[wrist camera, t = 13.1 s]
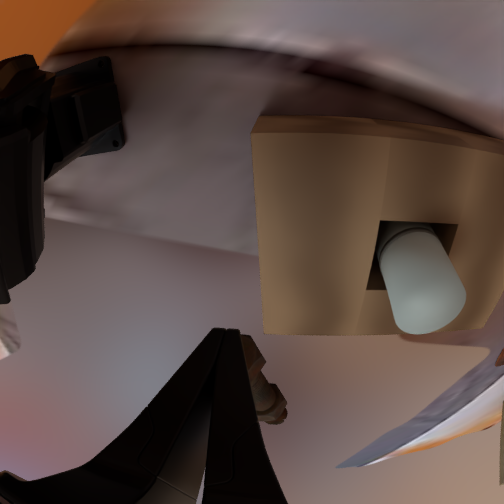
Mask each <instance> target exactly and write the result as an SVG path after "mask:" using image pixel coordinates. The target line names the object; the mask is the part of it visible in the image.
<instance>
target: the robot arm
mask: <svg viewBox="0 0 504 504" xmlns="http://www.w3.org/2000/svg"><path fill="white" fill-rule="evenodd" d="M102 61H104V66H103V67H102V65H101V62H102ZM121 120H122V116H121V111H120V105H119V100H118V94H117V88H116V84H115V83H114V79H113V72H112V65H111V60H110V58H109V57H107V56H102V57H98V58H95V59H92V60H89V61H86V62H83V63H81V64H78V65H75V66H72V67H70V68H67V69H65V70H62V71H59V72H57V73H51V72H46V71H42V70H39V66H37V64H36V61H35V59H34V57H33V55H29V54H23V55H19V56H15V57H11V58H7V59H4V60H2V61H0V304H8V303H9V302H10V301H11V299H10V295H9V292H8V289H11V288H13V287H14V286H16V285H17V284H19V283H21V282H22V281H24V280H26V279H27V278H28V277H29V276H30V275H31V274H32V273H33V272H34V271H35V269H36V268H35V267H36V266H35V264H36V263H37V261H38V259H39V257H40V255H41V253H42V251H43V248H44V238H45V231H44V218H45V209H44V182H45V181H46V180H47V179H49V178H50V177H51V176H53V175H54V174H55V173H57V172H58V171H59V170H61V169H62V168H63V167H65V166H66V165H68V164H69V163H70V162H72V161H73V160H75V159H76V158H77V157H81V156H87V155H93V154H99V153H105V152H111V151H117V150H120V149H121V148H122V147H123V146H124V145H125V139H124V134H123V129H122V124H121ZM115 140H117V141H118V142H119V145H117V144H116V142H115ZM205 467H206V468H205ZM204 470H205V479H204V491H203V498H202V504H288V503H287V501H286V498H285V496H284V494H283V491H282V489H281V487H280V484H279V482H278V480H277V477H276V475H275V472H274V470H273V468H272V465H271V463H270V460H269V457H268V454H267V451H266V449H265V445H264V441H263V438H262V434H261V429H260V425H259V421H258V416H257V412H256V407H255V402H254V397H253V393H252V388H251V383H250V378H249V374H248V369H247V364H246V359H245V354H244V349H243V344H242V339H241V334H240V330H238V329H227V330H226V329H225V328H213V329H212V330H211V331H210V332H209V333H208V334H207V336H206V337H205V338H204V339H203V340H202V342H201V343H200V344H199V345H198V346H197V348H196V349H195V350H194V351H193V352H192V354H191V355H190V356H189V357H188V358H187V360H186V361H185V362H184V363H183V364H182V366H181V367H180V368H179V369H178V370H177V371H176V372H175V374H174V375H173V376H172V377H171V378H170V380H169V381H168V382H167V383H166V384H165V385H164V387H163V388H162V389H161V390H160V391H159V393H158V394H157V395H156V396H155V397H154V398H153V400H152V401H151V402H150V403H149V404H148V407H145V409H144V410H143V411H142V412H141V414H139V416H138V417H137V418H136V419H135V420H134V421H133V422H132V423H131V424H130V425H129V426H128V427H127V428H126V429H125V430H124V431H123V432H122V433H121V434H120V435H119V436H118V437H117V438H116V439H114V440H113V441H112V442H111V443H110V444H109V445H108V446H106V447H105V448H104V449H103V450H102V451H101V452H100V453H99V454H97V455H96V456H95V457H94V458H93V459H91V460H90V461H89V462H87V463H85V464H84V465H82V466H79V467H77V468H74V469H71V470H68V471H65V472H61V473H58V474H55V475H51V476H48V477H45V478H41V479H38V480H32V481H27V480H25V479H23V478H21V477H19V476H17V475H15V474H13V473H11V472H9V471H6V470H4V471H2V472H0V504H196V501H197V500H196V499H197V497H198V493H199V489H200V486H201V482H202V478H203V474H204Z"/></svg>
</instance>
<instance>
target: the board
mask: <svg viewBox="0 0 504 504" xmlns="http://www.w3.org/2000/svg"><path fill="white" fill-rule="evenodd" d="M251 147H252V161H253V175H254V190H255V204H256V219H257V234H258V249H259V265H260V279H261V295H262V312H263V328H264V334H281V335H389V334H410V333H407V332H404V331H402V330H401V329H400V328H399V327H398V326H397V324H396V322H395V319H394V315H393V311H392V307H391V303H390V299H389V296H388V292H387V288H386V285H385V281H384V278H383V275H382V273H381V270H380V267H379V261H378V258H377V254H376V252H374V250H375V245H376V239H377V234H378V228H379V223H380V220H387V221H410V222H428V223H429V224H430V226H431V228H432V229H433V231H434V233H435V234H436V235H437V236H438V238H439V240H440V241H441V243H442V246H443V248H444V250H445V252H446V254H447V255H448V257H449V259H450V261H451V263H452V265H453V267H454V268H455V270H456V272H457V274H458V276H459V278H460V280H461V282H462V284H463V286H464V288H465V291H466V301H465V304H464V306H463V308H462V310H461V312H460V313H459V314H458V315H457V317H456V318H455V319H453V320H452V321H451V322H450V323H449V324H447V325H446V326H444V327H442V328H440V329H438V330H436V331H433V332H444V331H457V330H468V329H478V328H483V326H484V325H485V323H486V321H487V320H488V318H489V316H490V314H491V313H492V311H493V309H494V307H495V306H496V304H497V302H498V300H499V298H500V296H501V295H502V293H503V291H504V140H500V139H496V138H492V137H488V136H483V135H479V134H474V133H469V132H464V131H459V130H454V129H448V128H442V127H436V126H430V125H423V124H416V123H408V122H400V121H391V120H381V119H370V118H356V117H340V116H312V115H267V116H259V117H258V119H257V121H256V123H255V125H254V127H253V129H252V131H251Z"/></svg>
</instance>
